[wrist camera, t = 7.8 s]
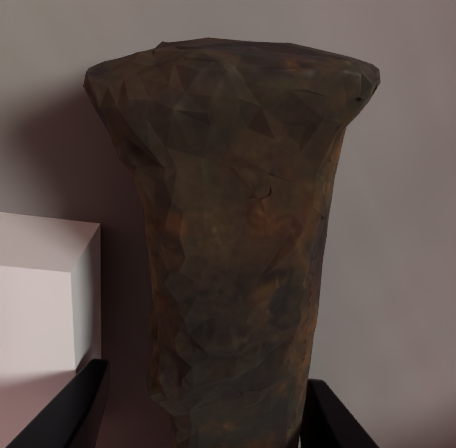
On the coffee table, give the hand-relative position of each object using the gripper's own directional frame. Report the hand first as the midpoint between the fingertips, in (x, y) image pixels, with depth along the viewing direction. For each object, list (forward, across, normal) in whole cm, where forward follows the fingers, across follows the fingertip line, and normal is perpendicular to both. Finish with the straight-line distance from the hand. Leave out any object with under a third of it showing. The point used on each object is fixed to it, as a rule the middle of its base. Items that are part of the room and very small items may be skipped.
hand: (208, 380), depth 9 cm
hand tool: (+2, -1, +2) cm, 3 cm away
